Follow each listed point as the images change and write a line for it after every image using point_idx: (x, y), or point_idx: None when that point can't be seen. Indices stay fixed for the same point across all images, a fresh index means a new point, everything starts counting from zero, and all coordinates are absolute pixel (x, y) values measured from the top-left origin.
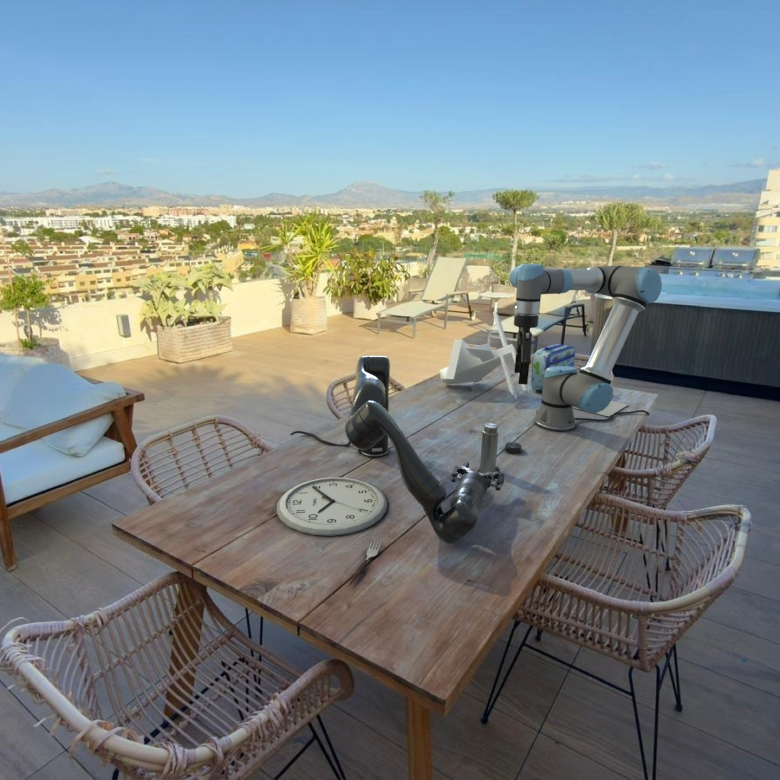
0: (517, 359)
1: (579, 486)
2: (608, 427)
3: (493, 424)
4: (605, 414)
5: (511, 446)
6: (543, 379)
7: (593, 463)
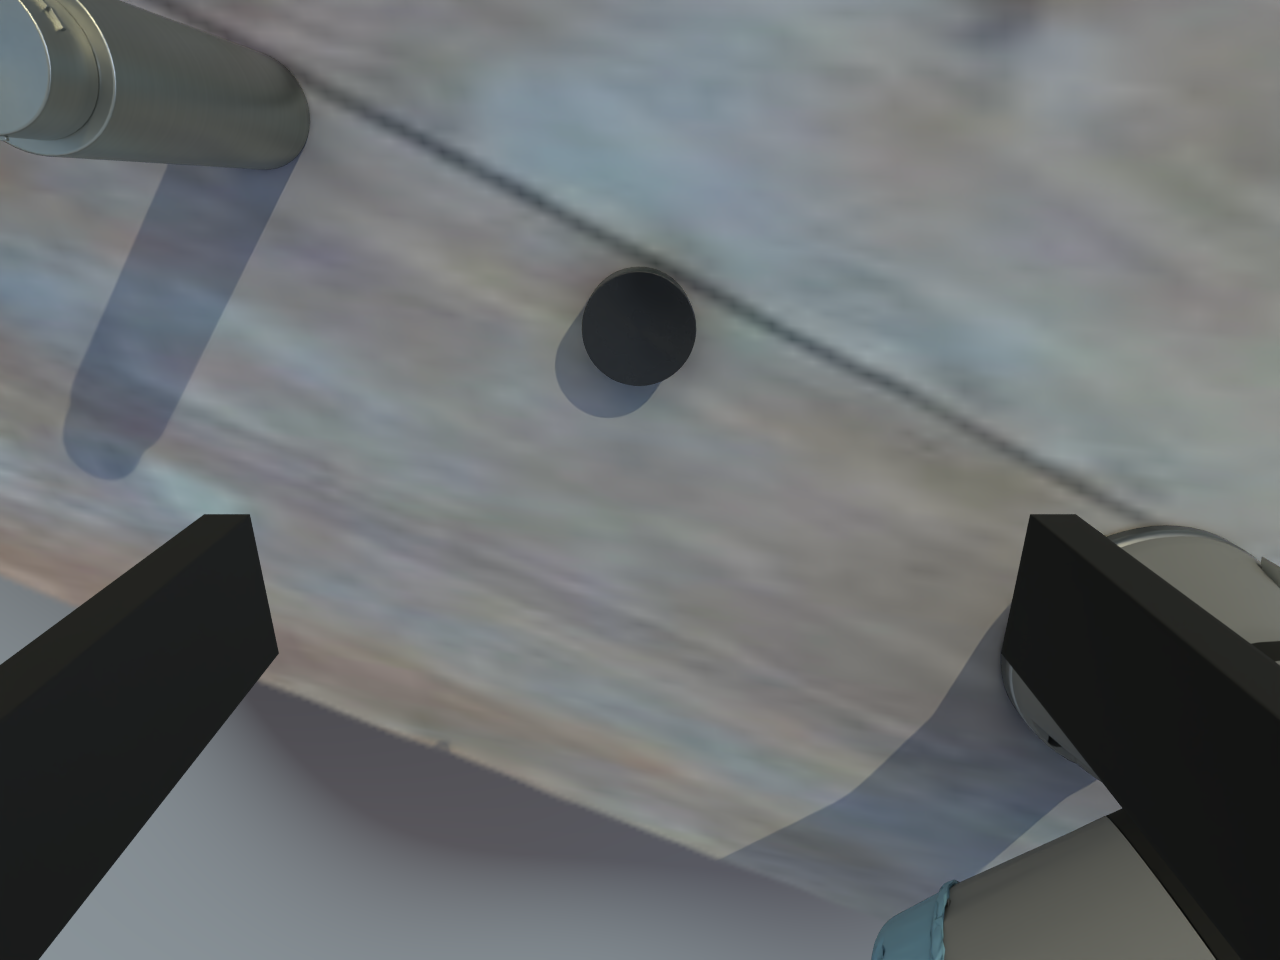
0: (1235, 740)
1: None
2: None
3: (22, 85)
4: None
5: (608, 313)
6: None
7: (545, 734)
